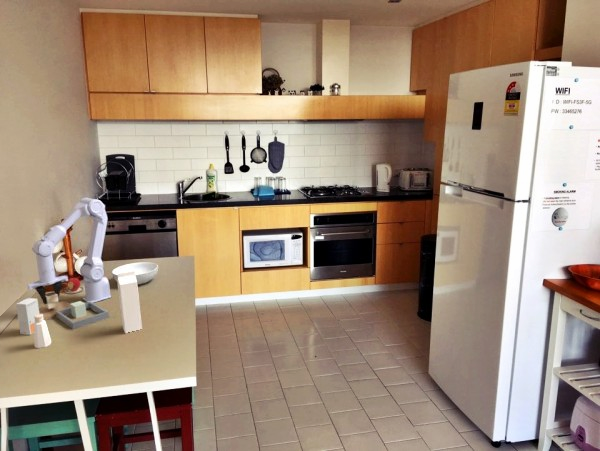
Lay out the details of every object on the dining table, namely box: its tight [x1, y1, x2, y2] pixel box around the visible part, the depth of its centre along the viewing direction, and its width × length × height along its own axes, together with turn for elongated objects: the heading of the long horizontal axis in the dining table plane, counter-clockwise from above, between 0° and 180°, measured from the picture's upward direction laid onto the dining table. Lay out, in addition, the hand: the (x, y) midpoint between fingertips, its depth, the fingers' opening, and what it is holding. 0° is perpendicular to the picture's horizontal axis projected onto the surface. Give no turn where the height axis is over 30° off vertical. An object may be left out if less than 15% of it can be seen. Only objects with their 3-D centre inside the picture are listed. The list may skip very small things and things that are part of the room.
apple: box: [64, 277, 85, 294], centre depth 217 cm, size 8×8×6 cm
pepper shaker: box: [33, 314, 52, 349], centre depth 164 cm, size 5×5×11 cm
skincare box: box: [15, 297, 40, 336], centre depth 175 cm, size 6×4×12 cm
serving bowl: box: [111, 261, 159, 286], centre depth 227 cm, size 21×21×7 cm
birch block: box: [44, 291, 60, 309], centre depth 192 cm, size 4×4×5 cm
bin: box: [56, 301, 110, 330], centre depth 187 cm, size 14×17×2 cm
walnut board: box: [39, 300, 71, 321], centre depth 193 cm, size 14×12×1 cm
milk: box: [116, 271, 143, 334], centre depth 173 cm, size 6×6×22 cm
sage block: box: [69, 300, 87, 319], centre depth 189 cm, size 4×4×5 cm
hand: (51, 301), depth 192 cm, fingers closed on birch block, 4 cm apart
